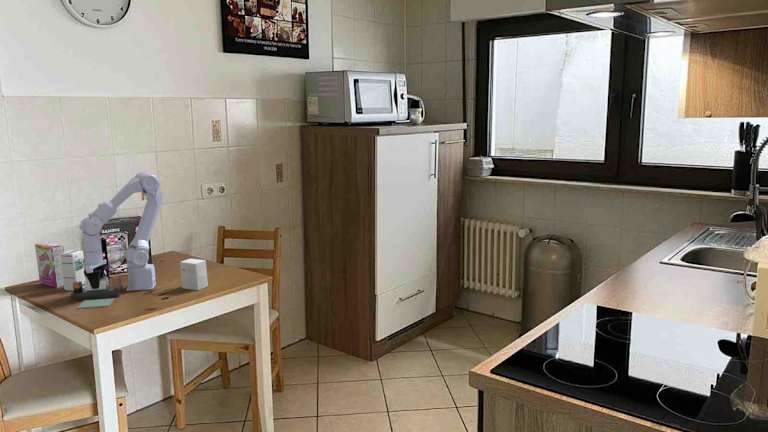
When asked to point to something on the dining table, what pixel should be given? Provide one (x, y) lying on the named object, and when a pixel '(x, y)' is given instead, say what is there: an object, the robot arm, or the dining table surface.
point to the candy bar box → (49, 264)
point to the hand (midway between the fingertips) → (97, 286)
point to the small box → (194, 274)
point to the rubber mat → (95, 303)
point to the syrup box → (72, 268)
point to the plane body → (110, 292)
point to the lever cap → (102, 284)
